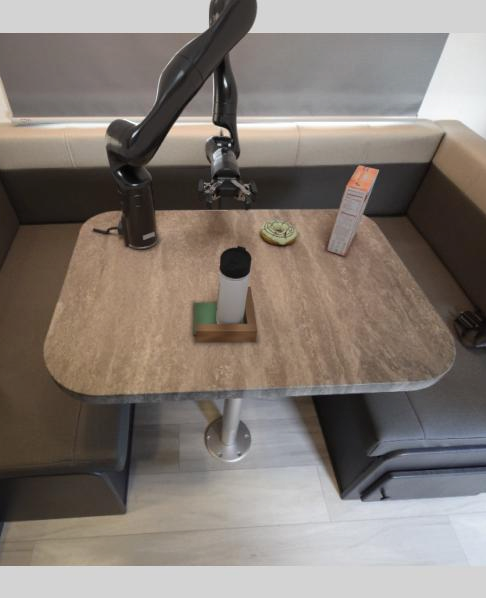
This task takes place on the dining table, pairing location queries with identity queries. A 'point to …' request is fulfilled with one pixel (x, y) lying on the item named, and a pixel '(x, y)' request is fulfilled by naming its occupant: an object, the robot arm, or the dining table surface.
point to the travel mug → (233, 285)
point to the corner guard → (214, 332)
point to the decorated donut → (278, 232)
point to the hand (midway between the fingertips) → (229, 206)
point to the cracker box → (351, 209)
